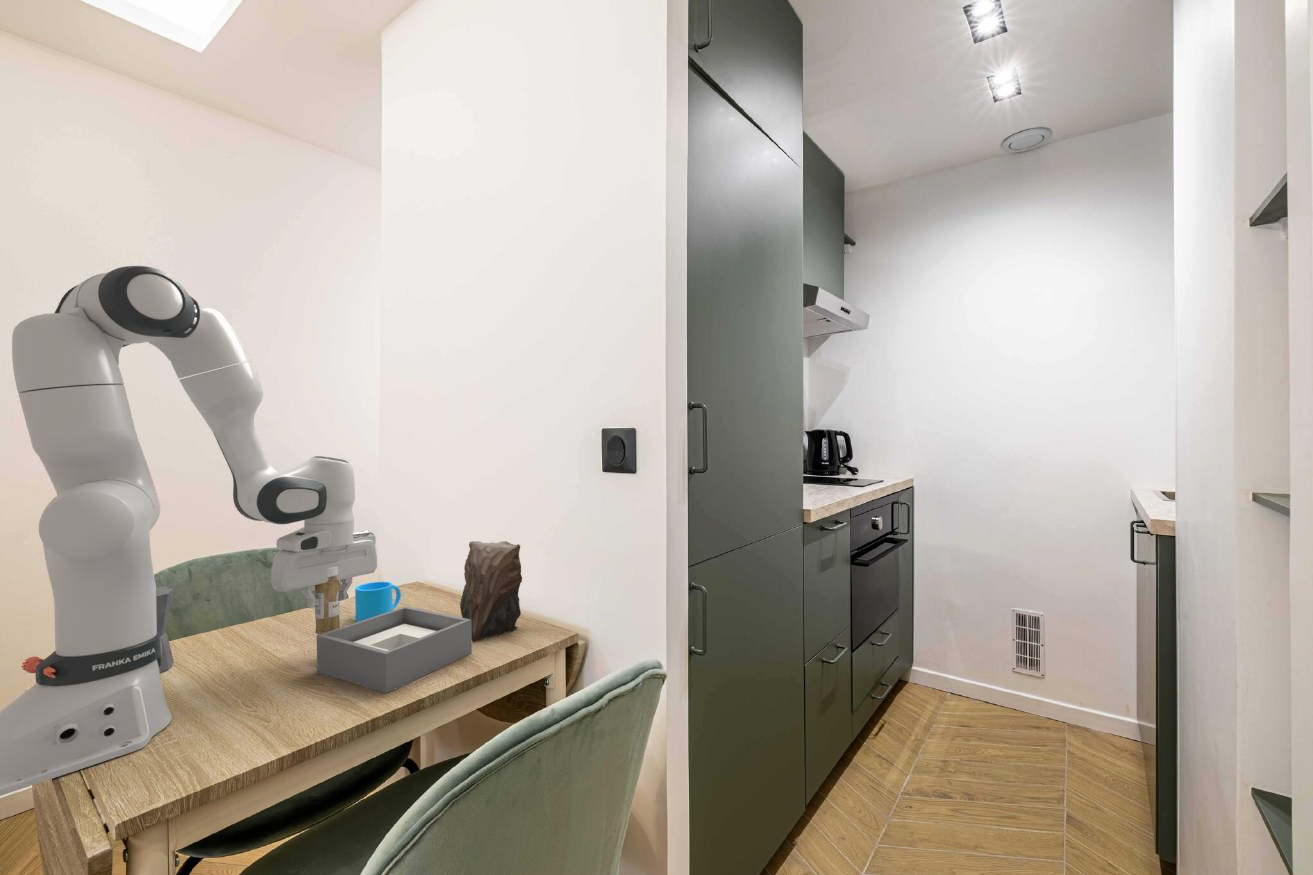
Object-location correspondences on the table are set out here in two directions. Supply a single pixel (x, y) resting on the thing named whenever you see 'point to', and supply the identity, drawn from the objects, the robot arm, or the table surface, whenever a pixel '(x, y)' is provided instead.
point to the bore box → (393, 647)
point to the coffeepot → (162, 619)
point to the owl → (491, 588)
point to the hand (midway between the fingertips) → (327, 603)
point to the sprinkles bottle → (328, 603)
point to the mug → (374, 599)
